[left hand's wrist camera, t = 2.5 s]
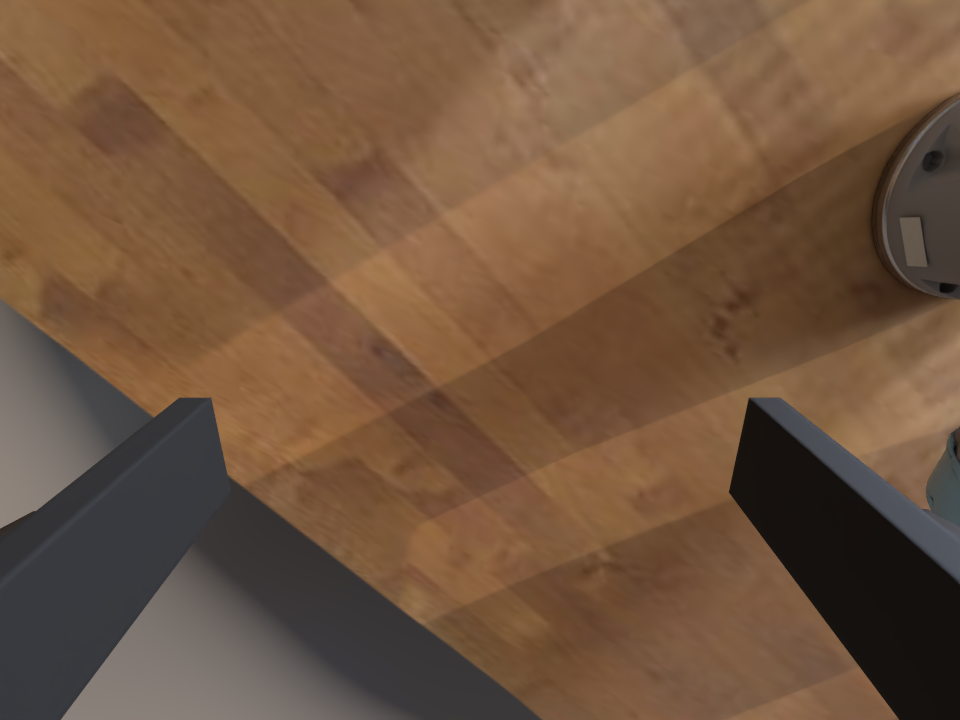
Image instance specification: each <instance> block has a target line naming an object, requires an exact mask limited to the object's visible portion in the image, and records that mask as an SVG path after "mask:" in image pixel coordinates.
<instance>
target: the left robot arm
mask: <svg viewBox="0 0 960 720" xmlns="http://www.w3.org/2000/svg"><path fill="white" fill-rule="evenodd" d="M872 231H873V239H874V243H875V247H876V250H877V252H878V255H879V257H880V259H881V261H882V263H883V264H884V266H885V267H886V268H887V270H888V271H889V272H890V273H891V274H892V275H893V276H894V277H895V278H896V279H897V280H899V281H900V282H902V283H903V284H905V285H906V286H908V287H910V288H913V289H915V290H918V291H921V292H924V293H927V294H931V295H934V296H938V297H943V298H949V299H959V300H960V93H958V94H956V95H955V96H953V97H952V98H950V99H948V100H947V101H945V102H944V103H942V104H941V105H939V106H938V107H937V108H935V109H934V110H933V111H932V112H930V113H929V114H928V115H927V116H926V117H925V118H924V119H922V120H921V121H920V122H919V123H918V124H917V125H916V126H915V127H914V129H913V130H912V131H911V132H910V133H909V134H908V135H907V136H906V138H905V139H904V140H903V142H902V143H901V144H900V146H899V147H898V149H897V150H896V152H895V153H894V155H893V156H892V158H891V160H890V161H889V163H888V165H887V167H886V169H885V171H884V173H883V176H882V178H881V181H880V183H879V186H878V189H877V193H876V196H875V201H874V206H873V215H872ZM230 493H231V490H230V485H229V480H228V476H227V471H226V466H225V462H224V457H223V452H222V447H221V443H220V438H219V433H218V429H217V424H216V419H215V414H214V410H213V405H212V400H211V398H179V399H177V400H176V401H175V402H174V403H172V404H171V405H170V406H169V407H167V408H166V409H165V410H164V411H162V412H161V413H160V414H158V415H157V416H156V417H155V418H153V419H152V420H151V421H150V422H148V423H147V424H146V425H145V426H143V427H142V428H141V429H139V430H138V431H137V432H136V433H134V434H133V435H132V436H131V437H129V438H128V439H127V440H126V441H124V442H123V443H122V444H120V445H119V446H118V447H117V448H115V449H114V450H113V451H112V452H110V453H109V454H108V455H107V456H105V457H104V458H103V459H101V460H100V461H99V462H98V463H96V464H95V465H94V466H93V467H91V468H90V469H89V470H88V471H86V472H85V473H84V474H83V475H81V476H80V477H79V478H77V479H76V480H75V481H74V482H72V483H71V484H70V485H69V486H67V487H66V488H65V489H64V490H62V491H61V492H60V493H58V494H57V495H56V496H55V497H53V498H52V499H51V500H50V501H48V502H47V503H46V504H45V505H43V506H42V507H41V508H39V509H38V510H37V511H33V512H31V513H29V514H27V515H25V516H24V517H22V518H20V519H18V520H16V521H14V522H12V523H10V524H8V525H6V526H5V527H3V528H1V529H0V720H61V718H62V717H63V716H64V714H65V713H66V712H67V710H68V709H69V708H70V706H71V705H72V704H73V702H74V701H75V700H76V698H77V697H78V696H79V694H80V693H81V692H82V690H83V689H84V688H85V686H86V685H87V684H88V682H89V681H90V680H91V678H92V677H93V676H94V674H95V673H96V672H97V670H98V669H99V668H100V666H101V665H102V664H103V662H104V661H105V660H106V658H107V657H108V656H109V654H110V653H111V652H112V650H113V649H114V648H115V646H116V645H117V644H118V642H119V641H120V640H121V638H122V637H123V636H124V634H125V633H126V632H127V630H128V629H129V628H130V626H131V625H132V624H133V622H134V621H135V620H136V618H137V617H138V616H139V614H140V613H141V612H142V610H143V609H144V608H145V606H146V605H147V604H148V602H149V601H150V600H151V598H152V597H153V596H154V594H155V593H156V592H157V590H158V589H159V588H160V586H161V585H162V584H163V582H164V581H165V580H166V578H167V577H168V576H169V574H170V573H171V572H172V570H173V569H174V568H175V566H176V565H177V564H178V562H179V561H180V560H181V558H182V557H183V556H184V554H185V553H186V552H187V550H188V549H189V548H190V546H191V545H192V544H193V542H194V541H195V540H196V538H197V537H198V536H199V534H200V533H201V532H202V530H203V529H204V528H205V526H206V525H207V524H208V522H209V521H210V520H211V518H212V517H213V516H214V514H215V513H216V512H217V510H218V509H219V508H220V506H221V505H222V504H223V502H224V501H225V500H226V498H227V497H228V496H229V494H230ZM729 493H730V494H731V496H732V497H733V498H734V500H735V501H736V502H737V504H738V505H739V506H740V508H741V509H742V510H743V512H744V513H745V514H746V516H747V517H748V518H749V520H750V521H751V522H752V524H753V525H754V526H755V528H756V529H757V530H758V532H759V533H760V534H761V536H762V537H763V538H764V540H765V541H766V542H767V544H768V545H769V546H770V548H771V549H772V550H773V552H774V553H775V554H776V556H777V557H778V558H779V560H780V561H781V562H782V564H783V565H784V566H785V568H786V569H787V570H788V572H789V573H790V574H791V576H792V577H793V578H794V580H795V581H796V582H797V584H798V585H799V586H800V588H801V589H802V590H803V592H804V593H805V594H806V596H807V597H808V598H809V600H810V601H811V602H812V604H813V605H814V606H815V608H816V609H817V610H818V612H819V613H820V614H821V616H822V617H823V618H824V620H825V621H826V622H827V624H828V625H829V626H830V628H831V629H832V630H833V632H834V633H835V634H836V636H837V637H838V638H839V640H840V641H841V642H842V644H843V645H844V646H845V648H846V649H847V650H848V652H849V653H850V654H851V656H852V657H853V658H854V660H855V661H856V662H857V664H858V665H859V666H860V668H861V669H862V670H863V672H864V673H865V674H866V676H867V677H868V678H869V680H870V681H871V682H872V684H873V685H874V686H875V688H876V689H877V690H878V692H879V693H880V694H881V696H882V697H883V698H884V700H885V701H886V702H887V704H888V705H889V706H890V708H891V709H892V710H893V712H894V713H895V714H896V716H897V717H898V718H899V720H960V427H959V428H957V429H956V430H955V431H954V432H953V433H951V435H950V436H949V437H948V440H947V446H946V450H945V452H944V454H943V456H942V457H941V459H940V461H939V462H938V464H937V466H936V467H935V469H934V471H933V472H932V474H931V476H930V478H929V480H928V483H927V486H926V497H927V500H928V503H929V506H930V509H931V510H932V512H931V511H929V510H922V509H921V508H919V507H918V506H917V505H915V504H914V503H913V502H912V501H910V500H909V499H908V498H907V497H905V496H904V495H903V494H902V493H900V492H899V491H898V490H896V489H895V488H894V487H893V486H891V485H890V484H889V483H888V482H886V481H885V480H884V479H883V478H881V477H880V476H879V475H878V474H876V473H875V472H874V471H872V470H871V469H870V468H869V467H867V466H866V465H865V464H864V463H862V462H861V461H860V460H859V459H857V458H856V457H855V456H853V455H852V454H851V453H850V452H848V451H847V450H846V449H845V448H843V447H842V446H841V445H840V444H838V443H837V442H836V441H834V440H833V439H832V438H831V437H829V436H828V435H827V434H826V433H824V432H823V431H822V430H821V429H819V428H818V427H817V426H815V425H814V424H813V423H812V422H810V421H809V420H808V419H807V418H805V417H804V416H803V415H802V414H800V413H799V412H798V411H796V410H795V409H794V408H793V407H791V406H790V405H789V404H788V403H786V402H785V401H784V400H783V399H781V398H749V400H748V405H747V410H746V414H745V419H744V424H743V429H742V433H741V438H740V443H739V447H738V452H737V457H736V462H735V466H734V471H733V476H732V480H731V485H730V490H729Z"/></svg>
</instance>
